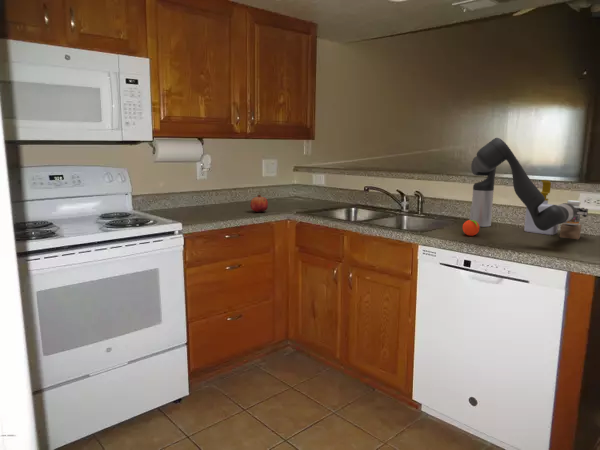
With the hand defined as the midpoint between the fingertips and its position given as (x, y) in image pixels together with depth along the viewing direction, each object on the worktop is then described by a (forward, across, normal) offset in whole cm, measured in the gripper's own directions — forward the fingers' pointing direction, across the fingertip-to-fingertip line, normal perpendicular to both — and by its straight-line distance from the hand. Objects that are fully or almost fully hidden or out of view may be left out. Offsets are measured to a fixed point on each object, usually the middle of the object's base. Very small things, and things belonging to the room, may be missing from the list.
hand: (574, 209), depth 190 cm
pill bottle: (-3, 0, +6) cm, 7 cm away
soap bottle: (-1, +12, +12) cm, 17 cm away
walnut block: (-2, 0, +12) cm, 12 cm away
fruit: (-55, +145, +12) cm, 156 cm away
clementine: (-31, +30, +12) cm, 45 cm away
